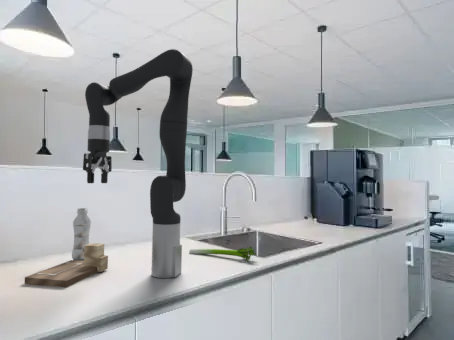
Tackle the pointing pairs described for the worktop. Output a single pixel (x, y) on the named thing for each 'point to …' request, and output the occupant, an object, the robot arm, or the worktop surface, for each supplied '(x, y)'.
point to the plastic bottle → (80, 233)
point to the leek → (225, 252)
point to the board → (62, 274)
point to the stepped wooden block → (95, 256)
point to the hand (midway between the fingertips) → (97, 183)
